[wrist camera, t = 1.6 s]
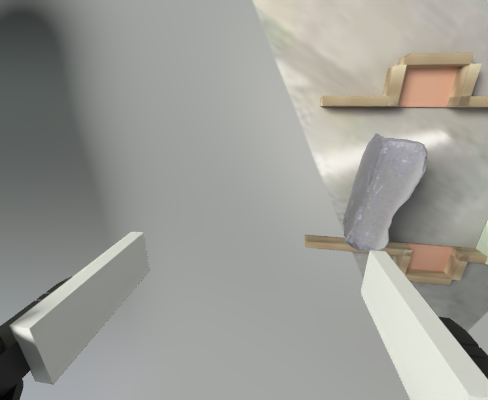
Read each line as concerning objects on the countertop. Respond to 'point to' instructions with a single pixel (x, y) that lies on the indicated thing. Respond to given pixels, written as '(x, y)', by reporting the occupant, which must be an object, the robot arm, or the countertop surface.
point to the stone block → (382, 190)
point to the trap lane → (422, 95)
